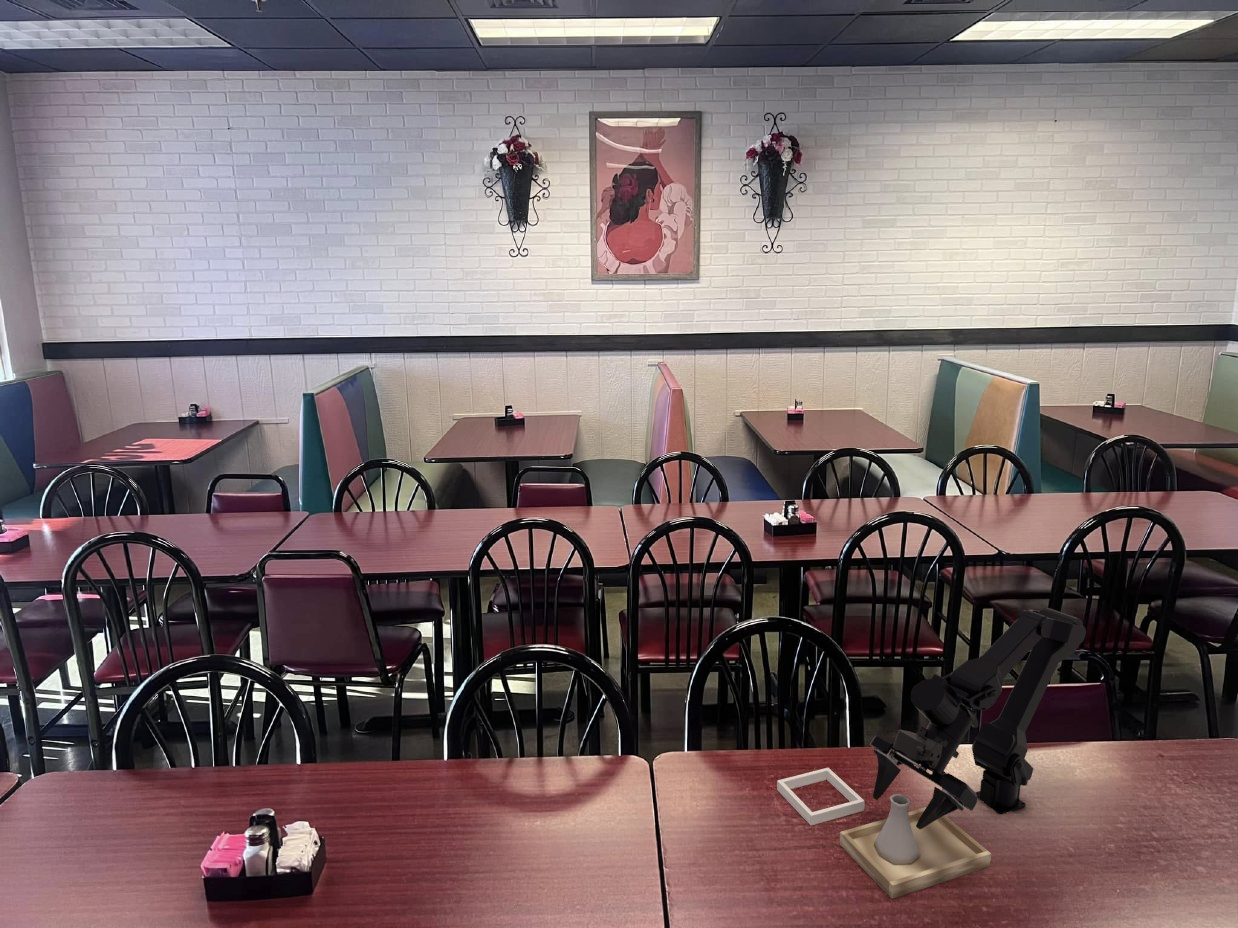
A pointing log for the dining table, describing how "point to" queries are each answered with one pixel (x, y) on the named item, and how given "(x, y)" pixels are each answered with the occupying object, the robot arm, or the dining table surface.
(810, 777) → the white square frame
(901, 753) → the robot arm
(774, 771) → the dining table surface
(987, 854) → the serving tray
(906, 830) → the flask
